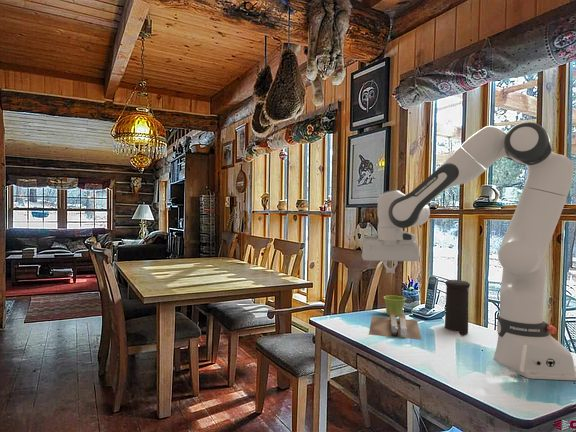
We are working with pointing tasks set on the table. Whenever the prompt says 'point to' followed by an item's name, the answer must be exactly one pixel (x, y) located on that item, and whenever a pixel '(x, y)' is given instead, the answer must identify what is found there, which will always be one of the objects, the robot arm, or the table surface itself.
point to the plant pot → (394, 304)
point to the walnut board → (384, 328)
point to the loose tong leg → (393, 324)
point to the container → (457, 306)
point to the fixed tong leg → (402, 326)
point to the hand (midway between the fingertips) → (390, 273)
